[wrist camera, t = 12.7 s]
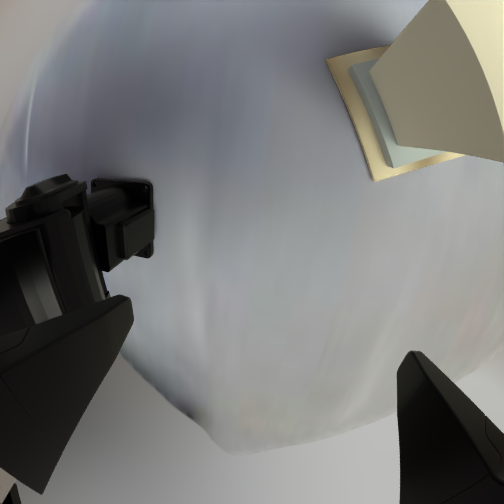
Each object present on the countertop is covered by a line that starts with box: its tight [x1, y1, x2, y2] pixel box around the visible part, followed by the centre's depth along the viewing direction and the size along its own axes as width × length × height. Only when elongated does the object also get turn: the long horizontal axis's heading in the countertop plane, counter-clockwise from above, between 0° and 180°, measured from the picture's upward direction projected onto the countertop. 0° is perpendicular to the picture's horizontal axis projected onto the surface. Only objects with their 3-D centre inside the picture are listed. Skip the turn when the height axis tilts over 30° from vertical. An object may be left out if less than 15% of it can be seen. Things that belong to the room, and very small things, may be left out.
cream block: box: [369, 0, 504, 163], centre depth 8 cm, size 4×5×11 cm
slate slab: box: [348, 58, 446, 169], centre depth 13 cm, size 7×7×2 cm
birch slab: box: [326, 45, 464, 182], centre depth 15 cm, size 9×9×2 cm
